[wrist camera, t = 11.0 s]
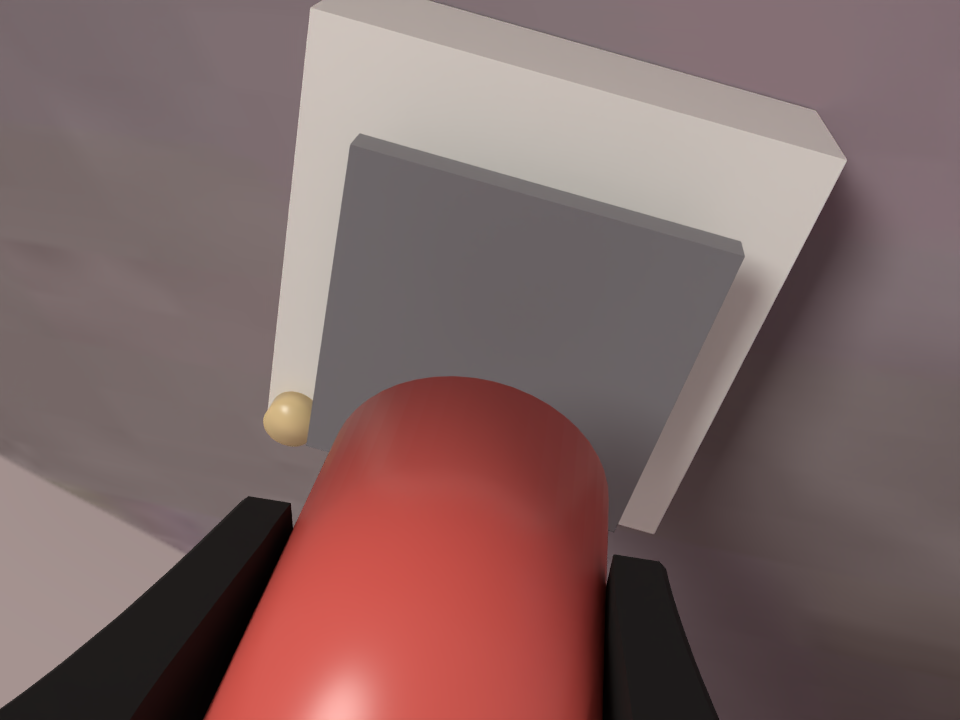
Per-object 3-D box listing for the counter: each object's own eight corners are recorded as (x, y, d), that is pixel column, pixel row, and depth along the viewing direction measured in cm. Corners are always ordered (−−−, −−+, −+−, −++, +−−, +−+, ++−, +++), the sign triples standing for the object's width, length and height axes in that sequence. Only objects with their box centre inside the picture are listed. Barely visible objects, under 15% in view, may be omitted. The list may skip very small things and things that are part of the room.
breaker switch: (725, 179, 17) (744, 256, 14) (616, 430, 21) (614, 532, 18) (398, 86, 17) (350, 144, 14) (352, 356, 21) (306, 445, 18)
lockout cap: (630, 398, 11) (632, 843, 6) (588, 607, 14) (566, 1045, 9) (323, 357, 12) (104, 745, 7) (335, 567, 14) (179, 964, 9)
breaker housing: (816, 110, 17) (854, 172, 14) (651, 456, 23) (654, 552, 20) (356, -20, 17) (299, 14, 14) (305, 359, 23) (257, 440, 20)
